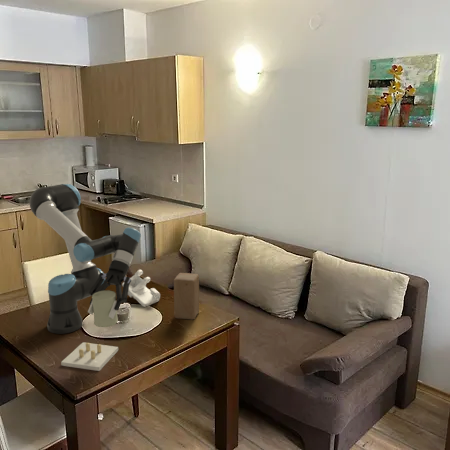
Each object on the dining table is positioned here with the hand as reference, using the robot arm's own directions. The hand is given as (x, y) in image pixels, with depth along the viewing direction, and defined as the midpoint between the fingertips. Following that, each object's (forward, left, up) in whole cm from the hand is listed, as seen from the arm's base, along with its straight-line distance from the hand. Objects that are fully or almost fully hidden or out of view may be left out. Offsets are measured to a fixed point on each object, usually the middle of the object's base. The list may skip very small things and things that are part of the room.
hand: (100, 315), depth 179 cm
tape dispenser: (-8, +57, -19) cm, 61 cm away
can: (0, +3, -4) cm, 6 cm away
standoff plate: (-5, -1, -18) cm, 19 cm away
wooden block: (+20, +46, -19) cm, 54 cm away
